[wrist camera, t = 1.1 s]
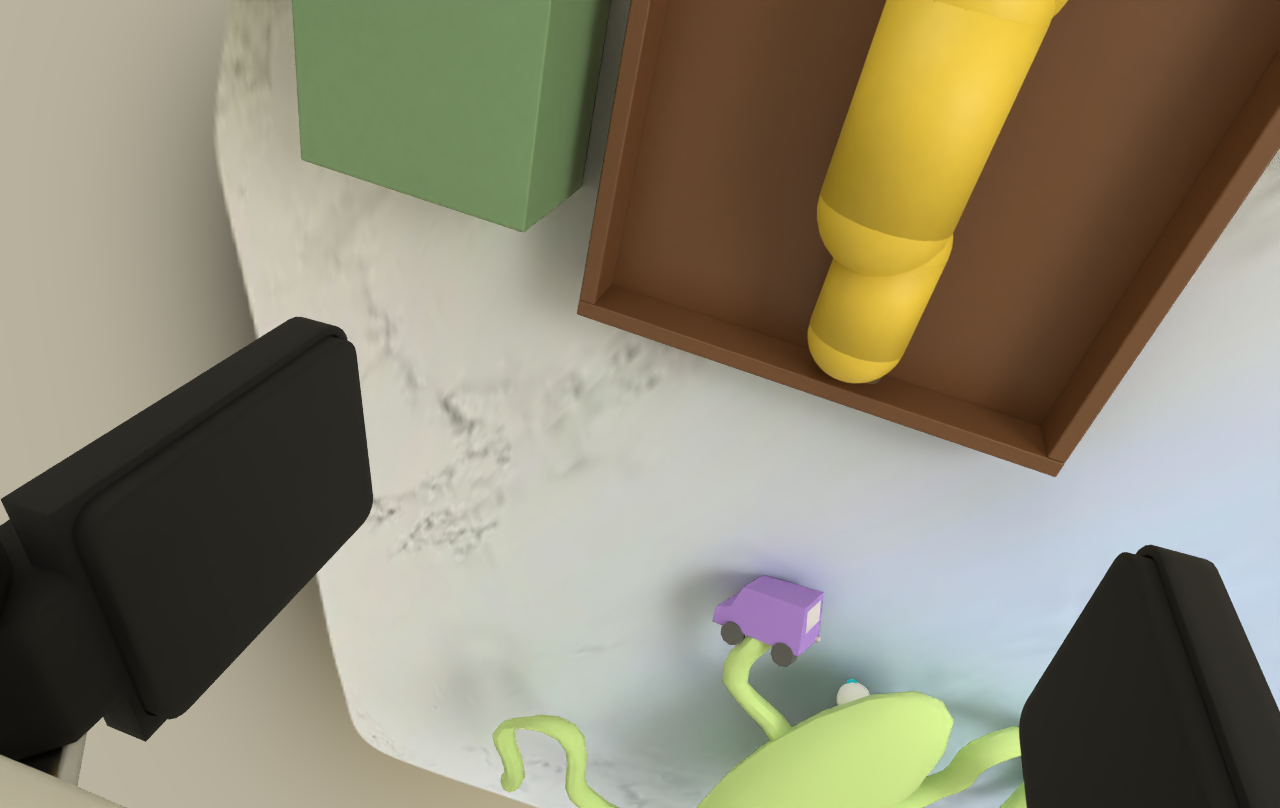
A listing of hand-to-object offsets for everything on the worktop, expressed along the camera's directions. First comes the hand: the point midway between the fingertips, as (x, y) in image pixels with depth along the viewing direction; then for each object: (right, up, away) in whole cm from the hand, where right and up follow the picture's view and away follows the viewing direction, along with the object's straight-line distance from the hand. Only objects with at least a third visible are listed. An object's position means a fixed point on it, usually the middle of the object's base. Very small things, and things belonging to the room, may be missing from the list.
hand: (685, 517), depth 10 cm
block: (-6, +14, +17) cm, 23 cm away
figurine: (+5, -16, +32) cm, 36 cm away
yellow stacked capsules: (+8, +10, +13) cm, 19 cm away
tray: (+8, +11, +14) cm, 19 cm away
